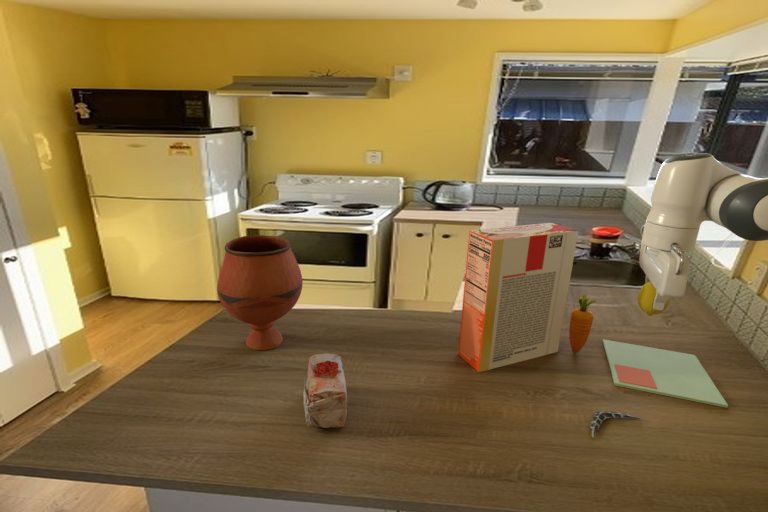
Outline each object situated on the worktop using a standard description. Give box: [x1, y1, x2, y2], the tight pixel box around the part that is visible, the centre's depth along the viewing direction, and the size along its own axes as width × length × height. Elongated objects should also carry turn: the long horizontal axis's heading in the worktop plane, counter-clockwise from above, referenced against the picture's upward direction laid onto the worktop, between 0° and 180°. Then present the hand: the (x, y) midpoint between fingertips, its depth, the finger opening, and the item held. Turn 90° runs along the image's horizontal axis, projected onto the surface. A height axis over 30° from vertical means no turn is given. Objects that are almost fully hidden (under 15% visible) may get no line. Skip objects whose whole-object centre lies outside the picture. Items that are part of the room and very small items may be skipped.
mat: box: [601, 338, 729, 409], centre depth 95 cm, size 20×20×1 cm
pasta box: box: [457, 222, 579, 373], centre depth 96 cm, size 23×8×30 cm, turn 114°
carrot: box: [568, 293, 597, 354], centre depth 99 cm, size 5×5×15 cm
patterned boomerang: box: [589, 409, 644, 438], centre depth 78 cm, size 13×1×5 cm
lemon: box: [637, 281, 671, 317], centre depth 87 cm, size 6×6×8 cm
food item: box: [302, 352, 348, 429], centre depth 78 cm, size 14×8×10 cm, turn 11°
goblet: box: [216, 234, 304, 351], centre depth 99 cm, size 19×19×25 cm
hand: (653, 302), depth 88 cm, fingers closed on lemon, 5 cm apart
